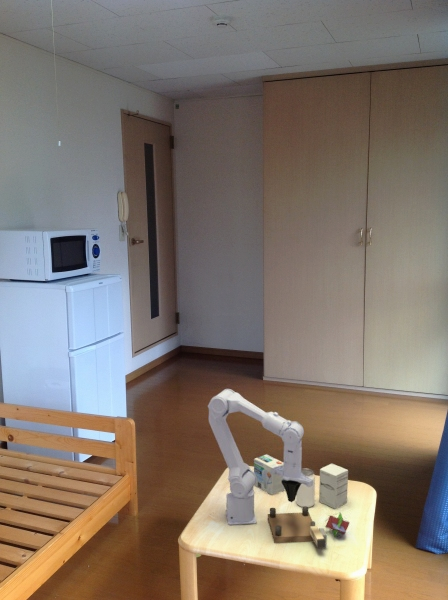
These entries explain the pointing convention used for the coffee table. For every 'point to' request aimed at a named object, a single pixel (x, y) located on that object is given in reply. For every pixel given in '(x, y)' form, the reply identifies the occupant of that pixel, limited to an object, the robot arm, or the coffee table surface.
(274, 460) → the light bulb box
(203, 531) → the coffee table surface
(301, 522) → the stool seat
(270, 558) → the coffee table surface
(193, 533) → the coffee table surface
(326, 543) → the block
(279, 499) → the coffee table surface
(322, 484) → the supplement box
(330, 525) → the geometric puzzle
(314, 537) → the hinged leg
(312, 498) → the can
